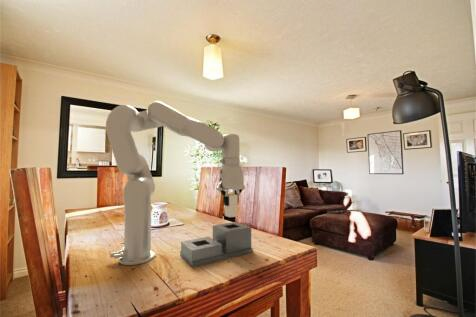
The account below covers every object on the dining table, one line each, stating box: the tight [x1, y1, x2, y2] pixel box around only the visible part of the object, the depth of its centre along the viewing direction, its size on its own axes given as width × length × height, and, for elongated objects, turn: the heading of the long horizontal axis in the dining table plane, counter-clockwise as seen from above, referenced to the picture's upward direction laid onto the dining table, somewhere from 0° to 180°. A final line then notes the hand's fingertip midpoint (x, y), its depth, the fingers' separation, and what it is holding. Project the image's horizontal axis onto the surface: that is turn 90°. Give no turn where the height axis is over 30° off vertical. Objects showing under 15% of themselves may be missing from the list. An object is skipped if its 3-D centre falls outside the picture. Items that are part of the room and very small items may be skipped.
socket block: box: [179, 221, 254, 268], centre depth 90 cm, size 26×14×10 cm, turn 122°
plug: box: [224, 192, 239, 218], centre depth 95 cm, size 4×5×10 cm
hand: (231, 204), depth 94 cm, fingers closed on plug, 4 cm apart
